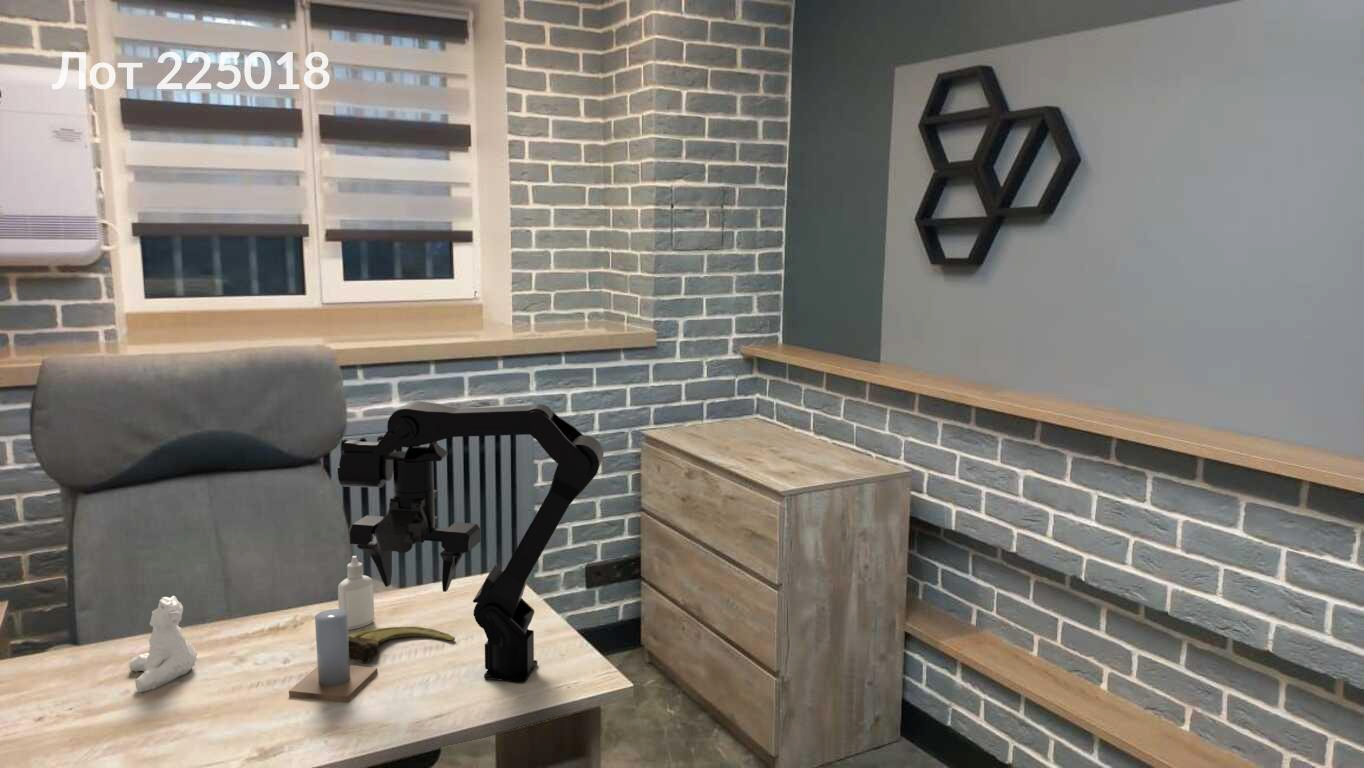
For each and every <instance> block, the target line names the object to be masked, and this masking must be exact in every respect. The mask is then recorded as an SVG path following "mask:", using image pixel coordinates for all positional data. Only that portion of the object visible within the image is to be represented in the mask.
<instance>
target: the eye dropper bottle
mask: <svg viewBox="0 0 1364 768" xmlns="http://www.w3.org/2000/svg"><path fill="white" fill-rule="evenodd" d="M363 569H364V568H363V563H362V562H360V561H358V557H357V555H352V557H351V562H349V563H348V564H347V565H346V572H347V573H346V574H347V577H346V578H344V579H343V580H342V581H341V582H339V584H338V587H337V600H338V605H337V606H338V609H341V610H345V611H346V612H347V619H348V631H351V630H356V629H360V628H363V627H366V626H368V625H370V624H372V622H374V620H375V601H374V600H375V599H374V584H373V583H374V582H373V579H372V578H371V577H369V576H368V575H364V573H363Z"/></svg>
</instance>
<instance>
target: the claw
mask: <svg viewBox="0 0 1364 768" xmlns="http://www.w3.org/2000/svg"><path fill="white" fill-rule="evenodd" d="M409 637H426V638H433V639H440V640H447V641H451V642H454V641H455V640H456V638H455V636H452V635H450V634H448V633H446V632H443V631H441V630H438V629H433V628H427V627H421V626H390V627H380V628H374V629H368V630H361V631H356V632H352V633H348V639H349V659H354V660H357V661H360V662H361V663H362V664H366V663H368V662H369V661H370V660H371V658H372V657H375V656H377V655H378V654H379V653H380V652H379V644H381V643H383V642H384V641H387V640H391V639H398V638H409Z"/></svg>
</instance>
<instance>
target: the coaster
mask: <svg viewBox="0 0 1364 768" xmlns="http://www.w3.org/2000/svg"><path fill="white" fill-rule="evenodd" d="M377 674H378V667H372V666H371V667H370V666H369V667H368V666H361V665H351V664H350V679H349V680H348V681H347V682H346V683H344V684H341V685H338V686H323V685H321V684H319V680H318V665H317V666H316V667H315V668H314V669H312V670H311V671H310V672H309V673H308V674H307V675H305V676H304V677H302V679H300V681H299V682H297V683H296V684H295V685H294V686H293V687H292V688H290V689H289V690H288V696H289V697H297V698H305V699H314V700H323V701H333V702H342V703H348V702H350V700H351V699H352V698H353V697H355V696H356V694H358V693H359V692H360V691H361V690H362V689H363V688H364V687H365V686H366V685H367V684H368V683H369V682H370V681H371V680H372V679H373V678H375V676H376V675H377Z"/></svg>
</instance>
